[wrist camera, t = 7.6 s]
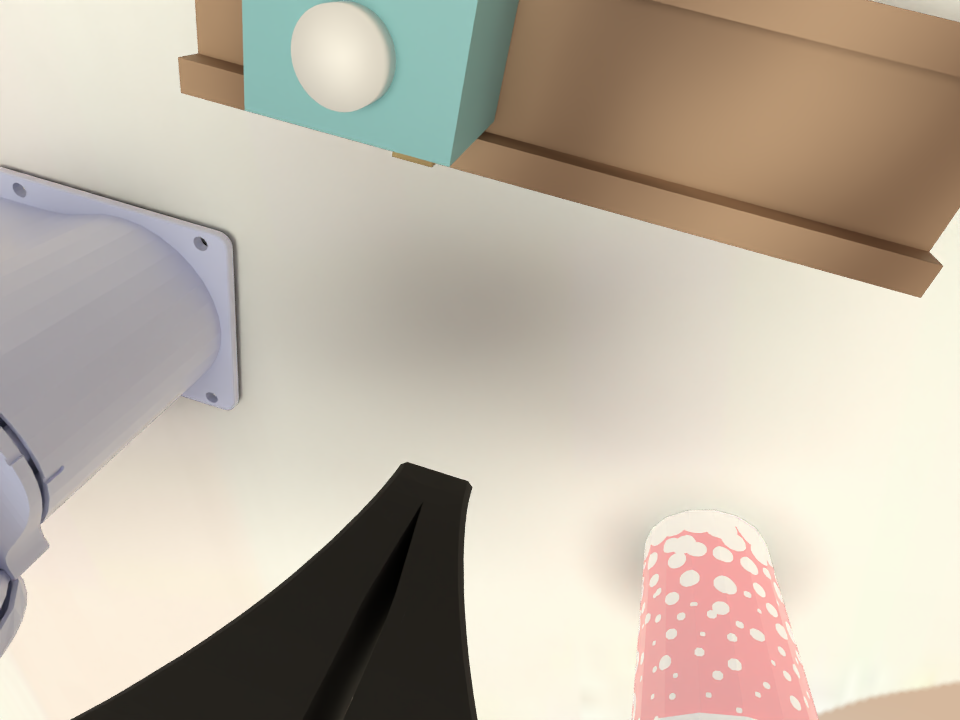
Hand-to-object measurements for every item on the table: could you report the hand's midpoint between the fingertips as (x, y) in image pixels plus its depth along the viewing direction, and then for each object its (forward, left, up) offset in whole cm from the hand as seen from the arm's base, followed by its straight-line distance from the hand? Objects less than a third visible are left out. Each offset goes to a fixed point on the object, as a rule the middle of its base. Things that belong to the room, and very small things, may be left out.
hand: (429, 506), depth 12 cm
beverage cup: (+10, -9, -10) cm, 17 cm away
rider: (-3, +7, -7) cm, 10 cm away
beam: (0, +7, -10) cm, 12 cm away
